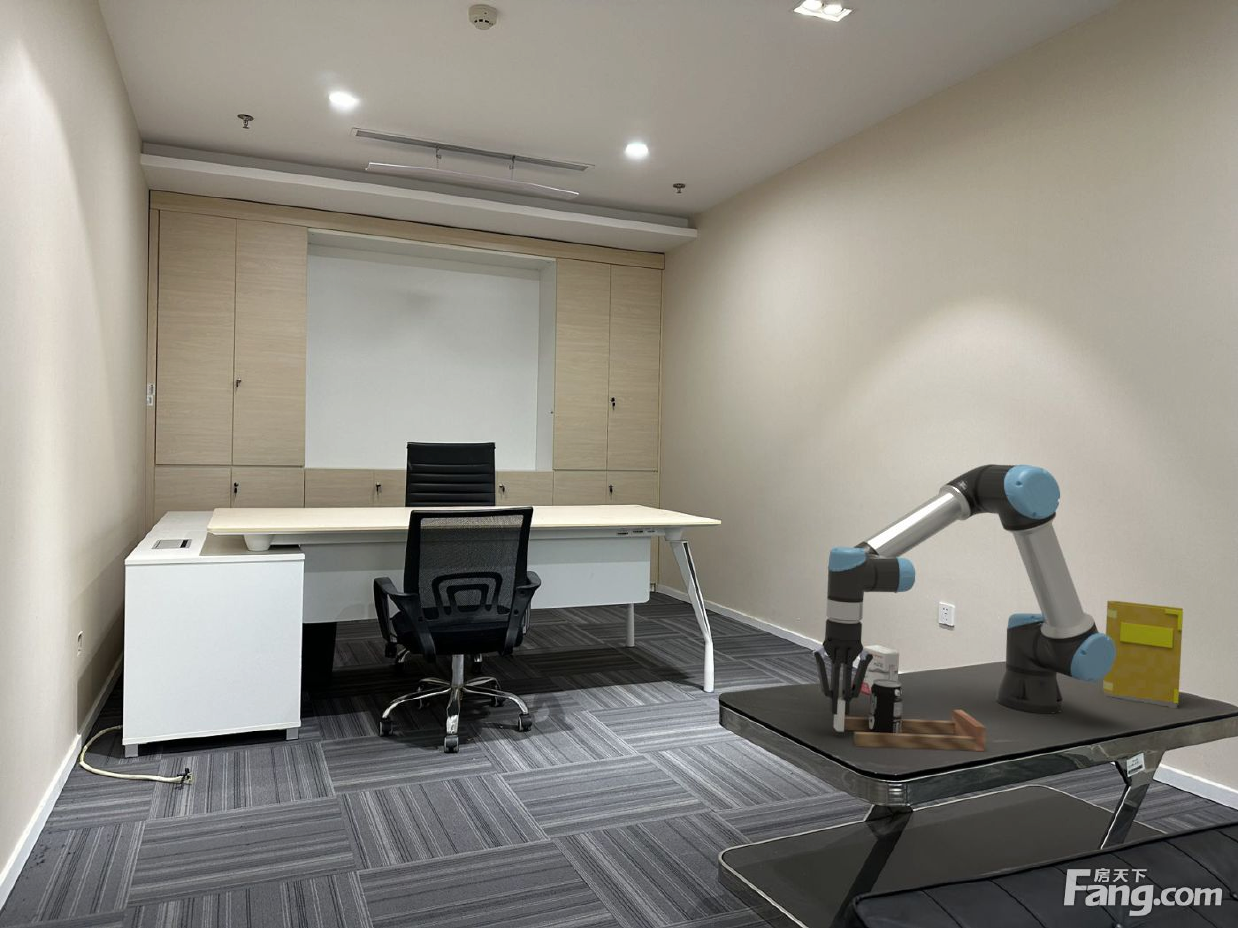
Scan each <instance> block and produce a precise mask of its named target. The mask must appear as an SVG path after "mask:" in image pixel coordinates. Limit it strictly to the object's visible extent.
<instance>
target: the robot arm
mask: <svg viewBox="0 0 1238 928" xmlns="http://www.w3.org/2000/svg"><path fill="white" fill-rule="evenodd" d="M1057 481H1058V480H1056V478H1055V477H1054V476H1053V475H1052V473H1050V472H1049V471H1048V470H1047V469H1045V468H1042V467H1040V466H1033V465H1029V464H1016V465H1013V464H1009V465H1008V464H996V463H995V464H994V463H993V464H991V463H990V464H984V465H981V466H977V467H975V468H972V469H971V470H968V471H966V472H964V473H963V474H960V475H959V476H957V477H955V478H953V479H952V480H950V481H949V482H947V483H946V484H945V483H944V485H942V486H941V487H939V490H938V494H936V495H934V496H933V497H932V498H930V499H928V500H927V501H925V502H924V503H922V504H921V505H918V506H917V507H916V508H913V509H912V510H911V511H909V512H907V513H906V514H903V516H901V517H899V518H898V519H897V520H895V521H893V522H892V523H890V524H889V525H887V526H886V527H884V528H882V529H880V530H879V531H877V532H876V533H874V534H873V535H871V536H869V537H868V538H866V539H865V540H863V541H861V542H860V543H858V544H856V545H855V546H852V547H850V546H835V547H833V548H832V549H831V550H830V552H829V557H828V565H827V570H828V571H827V573H828V574H827V592H826V593H827V594H826V595H827V599H826V612H825V615H826V617H827V619H826V620H825V631H824V632H825V635H824V640H823V642H822V645H821V647H819V648H817V649H812V651H811V655H812V656H813V658H814V659H815V662H816V667H817V672H818V678H819V683H820V687H821V693H822V694H823V695H824V696H825V697H827V698H830V699H829V700H830V702H829V713H830V714H831V715H833V729H835V731H836V732H842V733H843V732H845V730H844V717H846V716H847V715H848V716H849V715H850V704H851V701H852V699H855V698H856V699H858V698H859V697H860V693H861V692H862V691H861V687H862V684H863V681H864V677H865V674H866V670H867V667H868V665H869V663H870V662H871V660H872V659H873V655H872V654H870V653H869V652H866V651H865V650H864V649H863V647H864V646H863V643H862V633H863V623H862V622H861V621H862V620H863V617H864V614H863V612H864V611H863V610H864V607H863V606H864V595H865V593H895V594H898V593H903V592H908V591H911V589H912V588H913V586H914V584H915V582H916V569H915V565H914V564H913V563H912V561H911V560H909V559H908V558H906V557H901V556H903V555H905V554H907V553H908V552H909V551H911V550H913V549H914V548H916V547H917V546H919V545H921V544H922V543H924V542H925V541H927V540H928V539H930V538H931V537H933V536H934V535H936V534H938V533H939V532H940V531H942V530H944V529H946V528H947V527H949V526H950V525H952V524H953V523H955V522H956V521H966V520H968V519H969V518H971V517H974V516H975V515H980V514H987V513H990V514H995V515H998V517H999V520H1000V523H1001V525H1002V528H1003V530H1005V531H1006V532H1008V533H1011V534H1012V535H1013V538H1014V541H1015V543H1016V546H1017V548H1018V549H1017V550H1018V551H1019V555H1020V557H1021V559H1022V563H1023V566H1024V568H1025V570H1026V574H1027V576H1028V579H1029V582H1030V585H1031V588H1032V590H1033V593H1034V595H1035V599H1036V601H1037V603H1038V604H1037V605H1038V606H1039V609H1040V612H1041V613H1030V612H1029V613H1021V612H1020V613H1013V614H1011V615H1010V616H1009V617H1008V620H1007V628H1006V645H1005V649H1006V650H1005V651H1006V652H1005V653H1006V654H1005V670H1004V674H1003V676H1002V679H1001V680H1000V683H999V685H998V688H997V691H996V701H997V703H999V704H1000V705H1002V706H1006V707H1008V708H1011V709H1014V710H1018V711H1024V712H1029V713H1036V714H1037V713H1038V714H1053V713H1052V712H1058V713H1060V712H1059V711H1061V712H1063V711H1062V710H1064V700H1063V696H1062V693H1061V688H1060V686H1059V682H1058V677H1057V675H1058V674H1061V675H1064V676H1067V677H1070V678H1073V679H1075V680H1076V681H1077V680H1078V681H1079V680H1081V681H1085V682H1089V683H1090V682H1097V681H1099V680H1101V679H1104V676H1106V675H1107V674H1108V672H1109V671H1110V670H1111V668H1112V665H1113V663H1114V661H1115V656H1116V649H1115V644H1114V642H1113V640H1112V639H1111V638H1110V637H1109V636H1107V635H1106V633H1103V632H1099V630H1098V627H1097V625H1096V622H1095V619H1094V617H1093V616H1092V615H1091V614H1089V613H1086V612H1084V609H1083V607H1082V604H1081V601H1080V598H1079V595H1078V592H1077V590H1076V587H1075V583H1074V582H1073V581H1074V580H1073V579H1072V575H1071V573H1070V570H1069V568H1068V564H1067V562H1066V559H1065V557H1064V554H1063V551H1062V548H1061V545H1060V542H1059V540H1058V537H1057V534H1056V532H1055V528H1054V525H1053V521H1054V520H1055V519H1056V517H1057V512H1056V511H1057V509H1058V508H1059V505H1060V502H1059V500H1060V499H1061V490H1060V486H1059V484H1058V482H1057ZM825 653H826V655H827V657H828V658H829V660H830V665H831V666H830V667H831V670H830V686H829V680H828V674H827V670H826V664H825V660H824V659H825ZM858 657H859V662H858V665H857V668H856V670H855V671H856V672H855V674H854V678H853V681H852V677H853V668H854V662H855V661H856V660H857V659H858ZM841 668H842V684H841V686H842V687H841V696H842V697H839V696H840V695H839V694H840V680H841V679H840V678H841V677H840V676H841Z"/></svg>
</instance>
